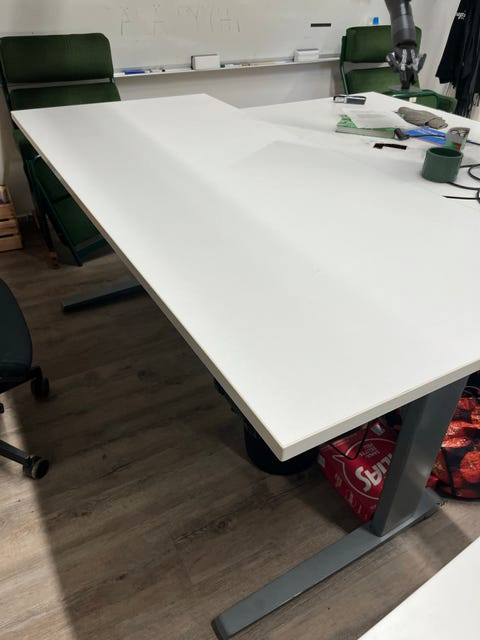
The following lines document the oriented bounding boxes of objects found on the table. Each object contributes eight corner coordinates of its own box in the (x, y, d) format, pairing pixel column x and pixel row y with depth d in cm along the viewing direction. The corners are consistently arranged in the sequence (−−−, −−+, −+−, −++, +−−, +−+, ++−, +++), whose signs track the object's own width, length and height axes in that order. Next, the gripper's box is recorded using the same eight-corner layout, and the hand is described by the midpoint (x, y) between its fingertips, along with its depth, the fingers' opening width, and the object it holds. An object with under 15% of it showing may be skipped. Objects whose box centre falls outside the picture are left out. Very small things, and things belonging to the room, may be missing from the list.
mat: (408, 144, 173) (408, 143, 173) (404, 153, 165) (404, 152, 164) (377, 140, 176) (378, 139, 176) (372, 148, 168) (372, 147, 168)
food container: (442, 154, 164) (451, 124, 158) (460, 158, 161) (470, 127, 155) (434, 165, 155) (443, 133, 149) (453, 169, 153) (463, 137, 147)
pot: (456, 174, 149) (464, 150, 145) (455, 184, 141) (463, 159, 137) (422, 168, 152) (428, 144, 148) (419, 178, 144) (425, 154, 140)
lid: (423, 91, 161) (428, 67, 157) (419, 97, 153) (425, 72, 149) (390, 87, 164) (394, 63, 160) (385, 93, 156) (390, 68, 152)
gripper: (388, 26, 153) (393, 75, 151) (429, 27, 155) (435, 76, 152) (378, 42, 160) (384, 90, 158) (418, 43, 162) (423, 90, 160)
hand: (409, 83), depth 155 cm, fingers closed on lid, 3 cm apart
